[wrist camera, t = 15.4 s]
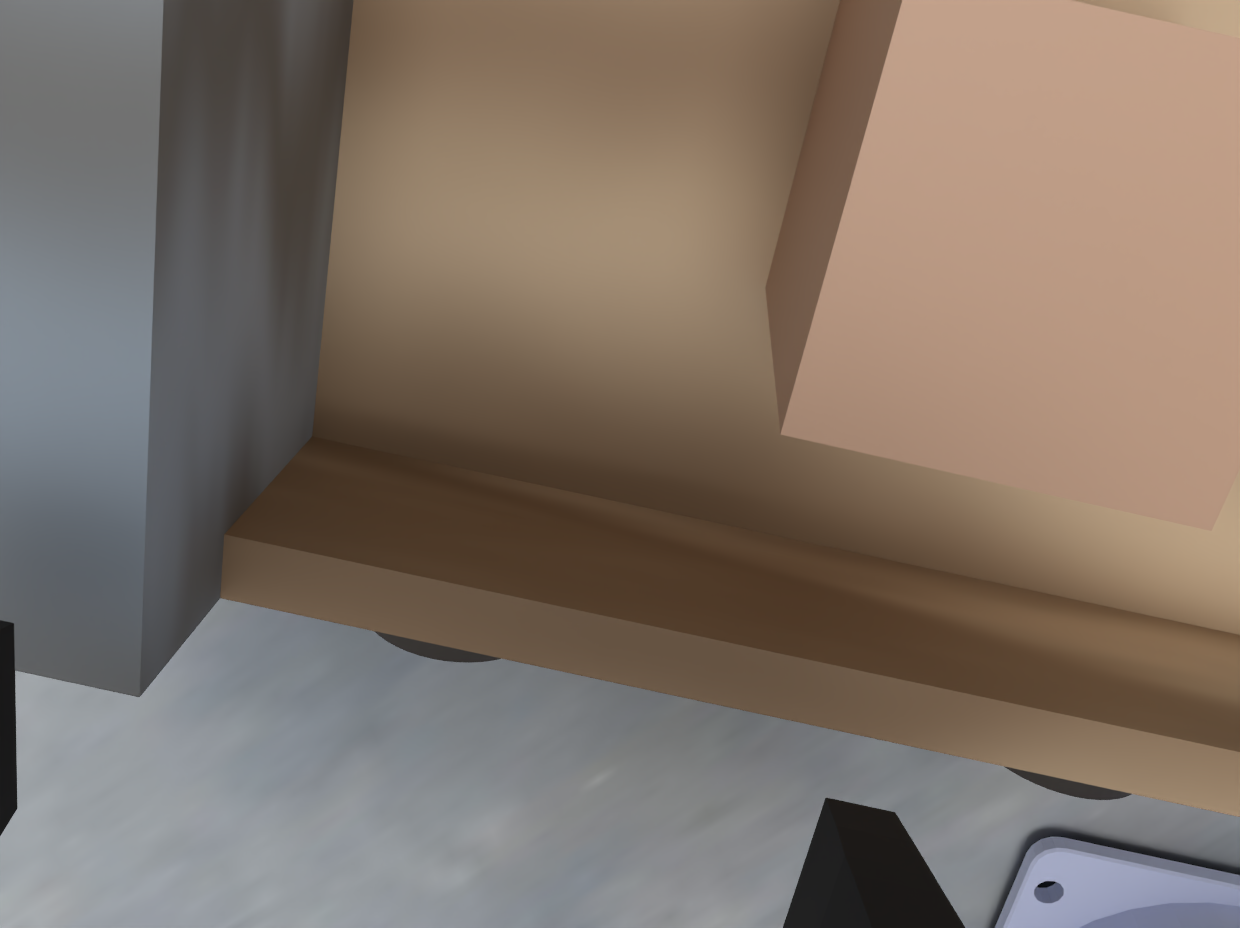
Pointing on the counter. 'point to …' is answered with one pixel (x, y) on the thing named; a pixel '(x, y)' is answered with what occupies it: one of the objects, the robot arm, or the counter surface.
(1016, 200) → the tan rectangular block
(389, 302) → the flatbed
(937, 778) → the counter surface
